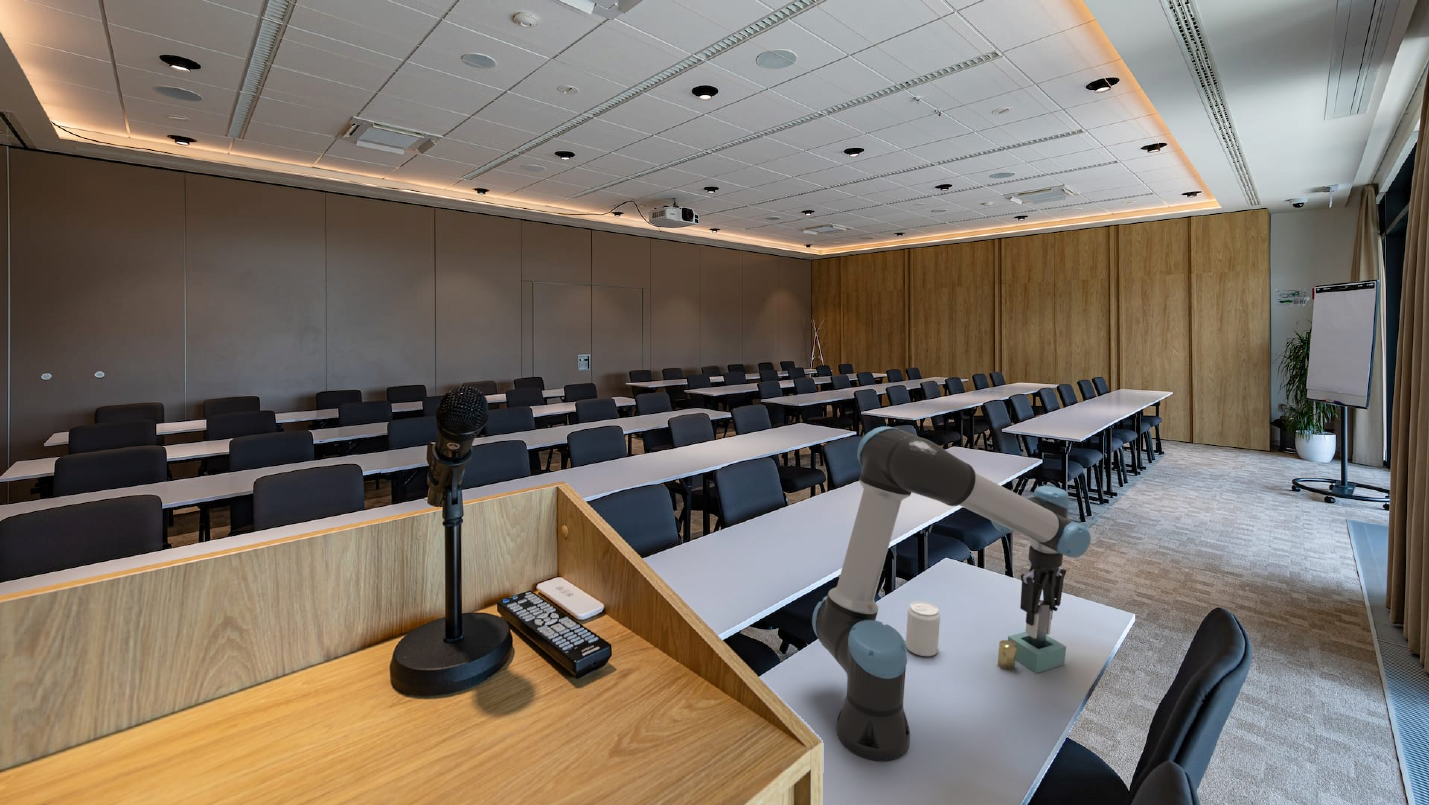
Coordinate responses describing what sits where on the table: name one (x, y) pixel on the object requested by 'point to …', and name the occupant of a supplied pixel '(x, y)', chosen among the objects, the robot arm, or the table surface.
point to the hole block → (1038, 653)
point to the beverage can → (922, 628)
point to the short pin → (1007, 655)
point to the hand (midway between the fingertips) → (1037, 633)
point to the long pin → (1041, 626)
